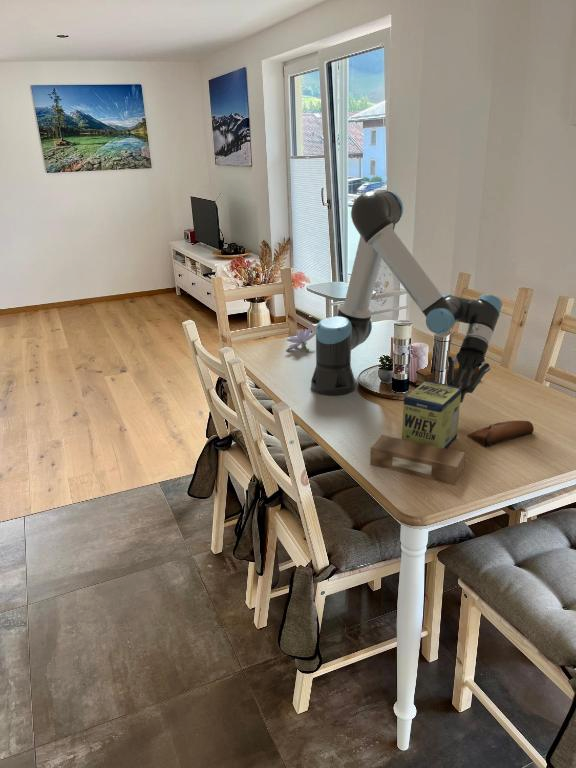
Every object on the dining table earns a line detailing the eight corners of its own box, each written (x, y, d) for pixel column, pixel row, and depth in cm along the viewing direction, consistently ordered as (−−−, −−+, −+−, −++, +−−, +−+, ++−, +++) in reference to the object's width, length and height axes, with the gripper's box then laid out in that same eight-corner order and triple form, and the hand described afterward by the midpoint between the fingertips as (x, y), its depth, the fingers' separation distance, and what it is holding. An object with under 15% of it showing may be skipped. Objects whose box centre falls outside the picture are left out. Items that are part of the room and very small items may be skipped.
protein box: (400, 450, 160) (403, 397, 154) (422, 428, 172) (426, 379, 166) (437, 460, 154) (441, 406, 148) (457, 437, 166) (462, 386, 160)
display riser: (369, 464, 153) (370, 447, 151) (381, 451, 159) (381, 434, 157) (455, 485, 143) (456, 467, 141) (463, 470, 149) (465, 452, 147)
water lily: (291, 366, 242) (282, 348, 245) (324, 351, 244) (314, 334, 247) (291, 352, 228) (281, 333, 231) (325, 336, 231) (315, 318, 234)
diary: (425, 392, 199) (426, 376, 196) (392, 374, 214) (393, 359, 212) (478, 379, 208) (479, 363, 206) (443, 363, 223) (444, 349, 221)
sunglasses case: (510, 422, 174) (522, 408, 169) (525, 441, 171) (537, 427, 166) (464, 436, 167) (475, 422, 162) (479, 456, 163) (490, 442, 158)
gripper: (453, 332, 180) (427, 400, 174) (496, 339, 173) (471, 410, 167) (457, 344, 186) (433, 411, 180) (499, 351, 179) (475, 421, 172)
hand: (451, 410), depth 173 cm, fingers closed
